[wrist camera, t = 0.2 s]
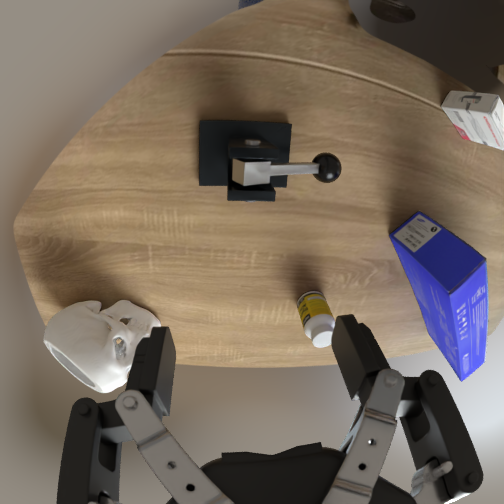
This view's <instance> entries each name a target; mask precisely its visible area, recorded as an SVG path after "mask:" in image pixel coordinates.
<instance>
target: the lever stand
mask: <svg viewBox="0 0 504 504" xmlns="http://www.w3.org/2000/svg"><path fill="white" fill-rule="evenodd" d="M291 128H292V124H289V123H277V122H262V121H239V120H200V134H199V186H227V200H228V201H246V202H255V201H275V194H276V191H275V190H274V188H273V187H285V188H286V186H287V176H288V175H275V176H270V182H269V183H268V184H257V185H247V186H243V185H241V184H239V183H237V182H236V181H234V180H232V174H233V158H254V159H265V160H268V161H271V163H289V153H290V141H291Z"/></svg>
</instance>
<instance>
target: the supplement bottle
mask: <svg viewBox="0 0 504 504" xmlns="http://www.w3.org/2000/svg"><path fill="white" fill-rule="evenodd" d="M297 308H298V311H299V315H300V318H301V321H302V325H303V328H304V331H305V334H306V335H307V336H308V337H309V338H311V340H312V343H313V345H314V346H315V347H319V348H322V347H326V346H329V345H330V344H331V337H332V333H333V330H334V326H335V320H334V318H333V315H332V313H331V311H330V308H329V306H328V304H327V301H326V299H325V297H324V296H323V294H322V293H320V292H317V291H310V292H307V293H305V294H303V295H302V296H301V297H300V298H299V300H298V302H297Z"/></svg>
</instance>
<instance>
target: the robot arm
mask: <svg viewBox="0 0 504 504" xmlns="http://www.w3.org/2000/svg"><path fill="white" fill-rule="evenodd" d="M331 345H332V349H333V352H334V354H335V357H336V360H337V362H338V365H339V367H340V370H341V373H342V376H343V378H344V381H345V384H346V386H347V389H348V392H349V395H350V397H351V400H352V401H353V400H357V399H359V400H360V402H361V404H360V406H359V409H358V411H357V414H356V416H355V418H354V420H353V423H352V425H351V428H350V429H349V432H348V434H347V436H346V438H345V439H344V441H343V443H342V445H341V446H340V448H339V450H336V449H332V448H327V447H322V445H321V442H318V443H313V444H307V445H301V446H296V447H294V448H291V449H289V450H286V451H283V452H281V453H278V454H275V455H267V454H259V453H252V452H233V453H222V458H219V459H215V460H213V461H210V462H208V463H206V464H205V465H203V466H202V467H201V468H199V467H198V466H197V465H196V464H195V462H194V461H193V460H192V459H191V458H190V457H189V455H188V454H187V453H186V452H185V451H184V449H183V448H182V447H181V446H180V445H179V443H178V442H177V441H176V439H175V438H174V437H173V436H172V434H171V433H170V432H169V431H168V430H167V428H166V427H165V426H164V424H163V423H162V416H169V414H170V404H171V394H172V386H173V378H174V370H175V362H176V350H175V346H174V342H173V339H172V336H171V332H170V329H169V327H152V330H151V334H150V337H143V338H142V339H141V341H140V342H139V343H138V344H137V347H136V350H135V356H134V358H133V363H132V366H131V370H130V374H129V378H128V382H127V386H126V389H125V391H124V392H122V393H121V394H120V395H119V396H118V397H117V399H116V400H113V401H109V402H103V403H96V402H95V401H94V400H93V399H91V398H81V399H79V400H77V401H76V402H75V403H74V405H73V407H72V410H71V414H70V419H69V423H68V427H67V432H66V437H65V442H64V448H63V454H62V460H61V467H60V475H59V482H58V492H57V504H121V503H119V478H120V461H121V448H122V442H126V441H131V440H134V441H135V442H136V444H137V446H138V447H137V448H138V450H139V452H140V453H141V455H142V456H143V458H144V459H145V461H146V462H147V464H148V465H149V467H150V468H151V469H152V471H153V472H154V474H155V475H156V476H157V478H158V479H159V480H160V482H161V483H162V484H163V485H164V487H165V488H166V489H167V491H168V492H169V493H170V494H171V496H172V498H171V499H170V500H169V501H168V502H167V503H166V504H448V503H450V502H453V501H455V500H457V499H460V498H462V497H464V496H466V495H468V494H470V493H473V492H474V491H476V490H477V489H478V488H479V487H480V485H481V484H482V481H483V471H482V468H481V465H480V462H479V459H478V457H477V454H476V451H475V448H474V446H473V443H472V441H471V438H470V436H469V433H468V431H467V429H466V426H465V424H464V422H463V419H462V417H461V415H460V412H459V410H458V408H457V406H456V404H455V402H454V400H453V397H452V396H451V393H450V391H449V389H448V387H447V385H446V383H445V381H444V379H443V378H442V376H441V375H440V374H439V373H438V372H436V371H434V370H426V371H425V372H423V373H422V374H421V375H420V377H404V376H402V375H401V374H400V373H399V372H398V371H396V370H394V369H391V368H390V366H389V364H388V362H387V360H386V358H385V356H384V354H383V352H382V351H381V349H380V347H379V345H378V343H377V341H376V339H374V336H373V334H372V332H371V330H370V329H369V328H368V327H367V326H366V325H365V324H363V323H359V324H358V322H357V320H356V318H355V317H354V315H353V314H349V315H341V316H337V318H336V322H335V326H334V330H333V333H332V337H331ZM395 417H399V418H400V420H401V424H402V426H403V429H404V432H405V435H406V438H407V441H408V445H409V448H410V451H411V454H412V457H413V460H414V464H415V467H416V470H417V471H416V472H415V474H414V476H413V478H412V484H411V487H412V491H411V493H410V494H409V493H408V492H406V491H404V490H402V489H401V488H399V487H397V486H395V485H394V484H392V483H390V482H388V481H387V480H385V479H384V478H382V477H380V476H379V474H380V471H381V469H382V466H383V464H384V461H385V458H386V455H387V453H388V450H389V448H390V445H391V441H392V439H393V436H394V433H395V429H396V426H397V420H395Z"/></svg>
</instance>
